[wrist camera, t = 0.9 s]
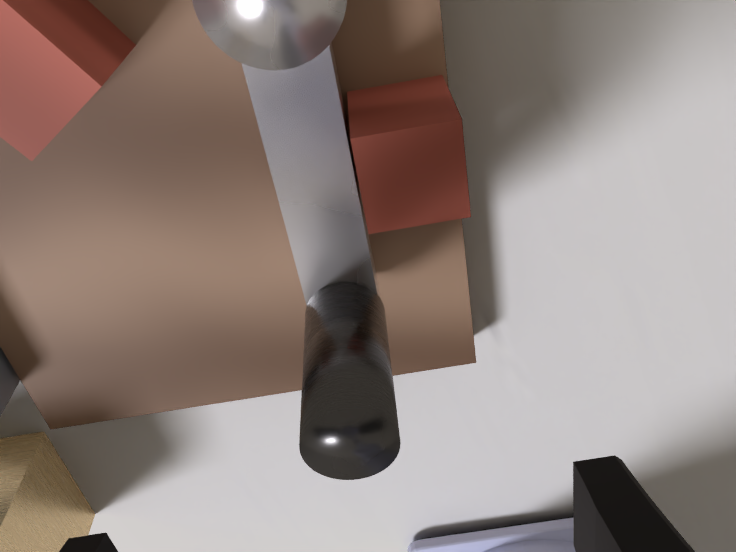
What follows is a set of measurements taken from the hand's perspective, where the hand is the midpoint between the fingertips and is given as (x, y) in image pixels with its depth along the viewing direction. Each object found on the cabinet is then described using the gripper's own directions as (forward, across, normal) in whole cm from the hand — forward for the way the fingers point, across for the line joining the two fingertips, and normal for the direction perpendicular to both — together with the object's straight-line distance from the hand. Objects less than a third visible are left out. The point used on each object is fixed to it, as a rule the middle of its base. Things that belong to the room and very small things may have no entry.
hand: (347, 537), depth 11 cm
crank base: (+8, +3, -4) cm, 10 cm away
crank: (+7, 0, -4) cm, 8 cm away
